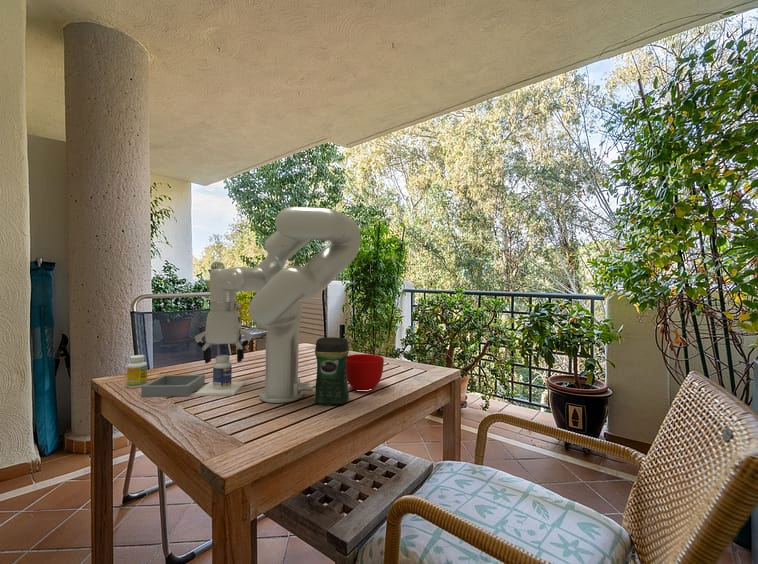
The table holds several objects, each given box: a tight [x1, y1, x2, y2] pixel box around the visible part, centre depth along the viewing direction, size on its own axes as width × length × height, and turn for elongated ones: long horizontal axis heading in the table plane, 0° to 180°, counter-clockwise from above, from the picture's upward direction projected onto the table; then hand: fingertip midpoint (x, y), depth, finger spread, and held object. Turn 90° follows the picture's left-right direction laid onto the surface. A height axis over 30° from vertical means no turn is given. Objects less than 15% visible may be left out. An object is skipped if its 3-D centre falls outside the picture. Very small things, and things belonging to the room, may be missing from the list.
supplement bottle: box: [126, 354, 148, 389], centre depth 116 cm, size 5×5×10 cm
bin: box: [140, 374, 206, 398], centre depth 112 cm, size 13×13×3 cm
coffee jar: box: [314, 336, 350, 405], centre depth 104 cm, size 10×8×19 cm
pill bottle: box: [212, 354, 233, 389], centre depth 113 cm, size 5×5×10 cm
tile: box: [194, 381, 246, 397], centre depth 113 cm, size 11×12×1 cm
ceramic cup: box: [346, 353, 385, 390], centre depth 119 cm, size 13×17×10 cm
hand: (224, 361), depth 113 cm, fingers open, 9 cm apart
